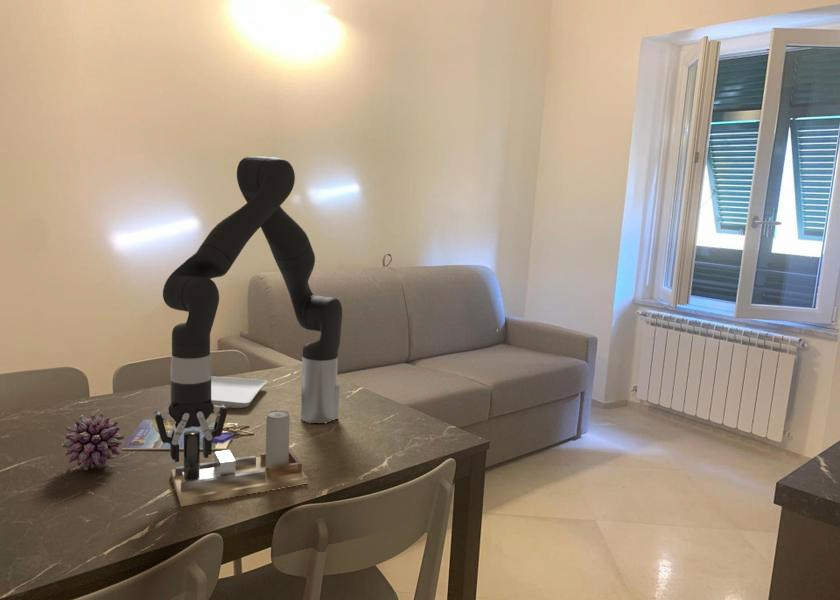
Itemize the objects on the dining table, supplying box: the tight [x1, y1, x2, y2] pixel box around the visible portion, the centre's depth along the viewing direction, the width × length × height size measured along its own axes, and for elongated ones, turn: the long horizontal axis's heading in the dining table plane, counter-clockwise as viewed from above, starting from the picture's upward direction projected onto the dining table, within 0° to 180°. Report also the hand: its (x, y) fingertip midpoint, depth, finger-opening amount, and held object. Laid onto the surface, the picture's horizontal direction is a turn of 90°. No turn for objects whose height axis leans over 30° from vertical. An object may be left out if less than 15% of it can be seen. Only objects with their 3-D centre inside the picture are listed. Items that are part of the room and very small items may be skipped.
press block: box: [182, 430, 236, 482], centre depth 129 cm, size 10×6×10 cm, turn 118°
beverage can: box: [265, 409, 291, 470], centre depth 136 cm, size 5×5×12 cm
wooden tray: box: [170, 448, 309, 507], centre depth 133 cm, size 25×14×4 cm, turn 118°
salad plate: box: [211, 375, 268, 409], centre depth 183 cm, size 21×21×3 cm
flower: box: [60, 412, 125, 471], centre depth 134 cm, size 12×12×12 cm
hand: (191, 458), depth 128 cm, fingers open, 5 cm apart
